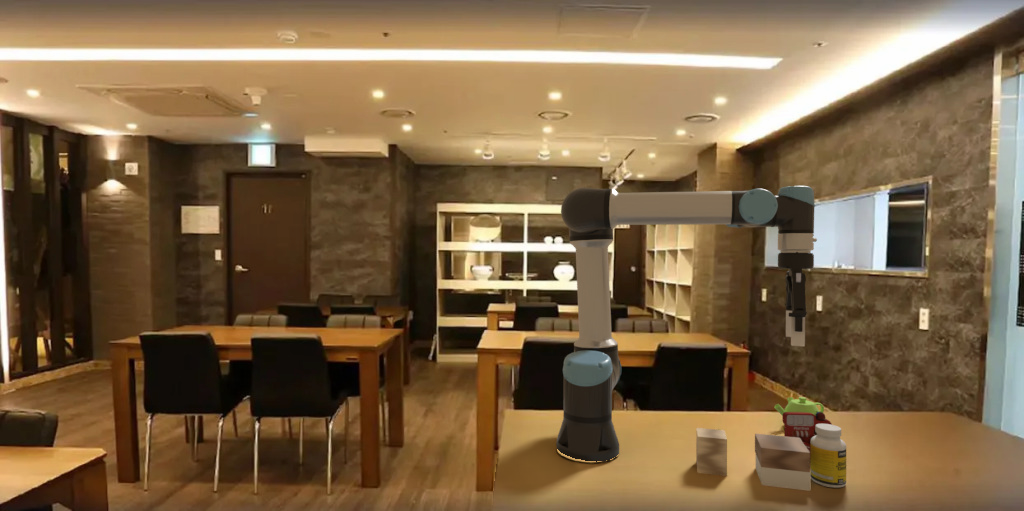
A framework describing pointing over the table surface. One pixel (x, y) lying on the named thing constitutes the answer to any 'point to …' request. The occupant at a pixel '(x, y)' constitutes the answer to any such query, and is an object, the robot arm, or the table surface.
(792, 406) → the teapot
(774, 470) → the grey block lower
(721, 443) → the oak block
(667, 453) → the table surface
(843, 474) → the pill bottle
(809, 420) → the toy fire truck
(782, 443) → the walnut block upper
